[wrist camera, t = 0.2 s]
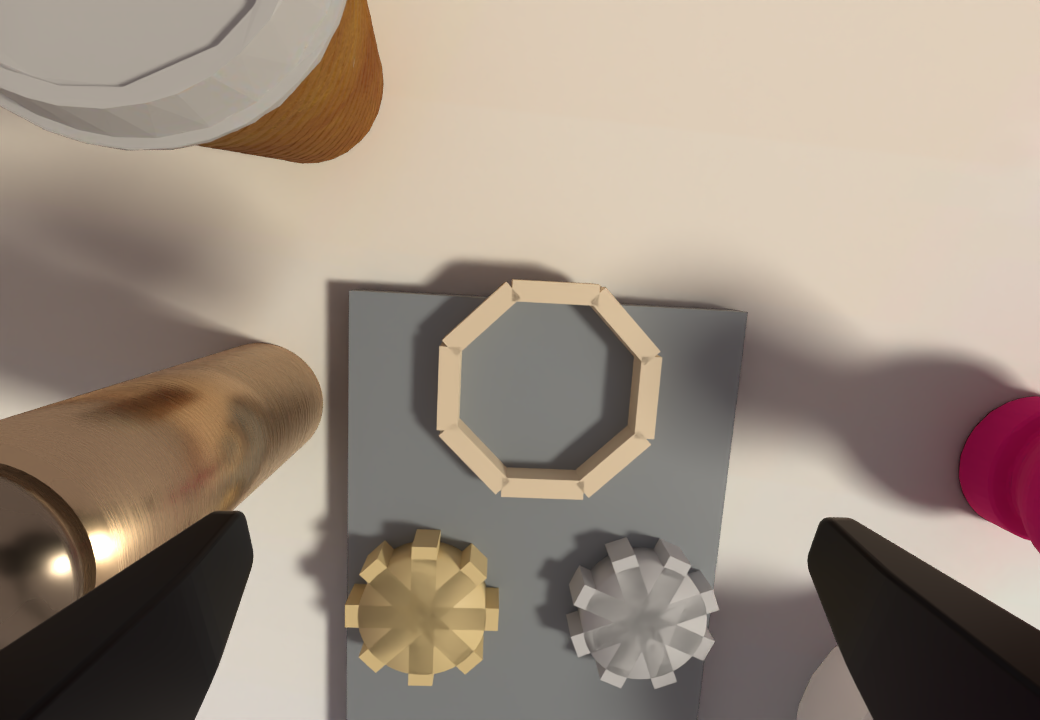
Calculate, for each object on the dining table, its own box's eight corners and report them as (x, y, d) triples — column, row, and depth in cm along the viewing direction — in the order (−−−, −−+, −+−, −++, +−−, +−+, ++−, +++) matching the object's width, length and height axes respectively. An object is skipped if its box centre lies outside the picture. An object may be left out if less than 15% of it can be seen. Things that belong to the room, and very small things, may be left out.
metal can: (271, 480, 24) (-10, 748, 11) (178, 404, 23) (-251, 590, 10) (347, 398, 24) (151, 570, 10) (254, 318, 23) (-89, 390, 9)
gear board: (681, 755, 27) (701, 808, 25) (352, 751, 26) (336, 806, 24) (737, 291, 24) (768, 294, 21) (356, 269, 23) (338, 270, 20)
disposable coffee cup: (295, -117, 20) (17, -649, 9) (475, 87, 22) (451, -126, 10) (122, 70, 21) (-352, -180, 9) (307, 255, 23) (99, 243, 11)
